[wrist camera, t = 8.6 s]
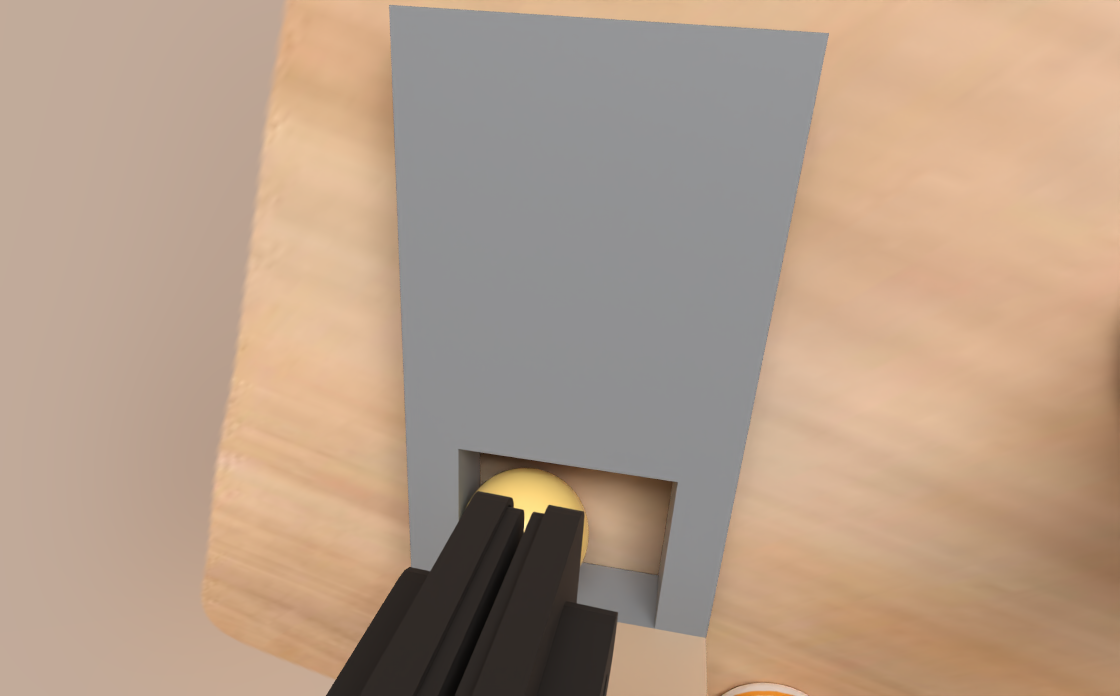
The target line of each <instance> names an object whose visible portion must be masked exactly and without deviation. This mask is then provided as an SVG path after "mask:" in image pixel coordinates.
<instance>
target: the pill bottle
mask: <svg viewBox="0 0 1120 696" xmlns="http://www.w3.org/2000/svg"><path fill="white" fill-rule="evenodd" d="M722 696H809V695H807V694H805V693H803V692H801V691H799V690H797V689H794V688H791V687H788V686H785V685H781V684H775V683H753V684H747V685H743V686H739V687H736V688H734V689H732V690H730V691H728V692H726V693H724V694H723V695H722Z"/></svg>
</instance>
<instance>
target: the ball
mask: <svg viewBox="0 0 1120 696" xmlns="http://www.w3.org/2000/svg"><path fill="white" fill-rule="evenodd" d="M477 491H481V492H486V493H491V494H497V495H502V496H507V497H511V498H513V502H514V508H518V509H523V510H524V517H525V518H524V531H525V529H526V526H527V524H528V521H529V519H530V517H531V515H532V513H533V512H539V513H545V511H546V508H547V506H548V505H553V506H559V507H564V508H569V509H574V510H579V511H584V529H583V540H582V551H581V561H580V566H581V564H582V562H583V560H584V557H585V554H586V551H587V546H588V537H589V528H588V521H587V517H586V513H585V510H584V507H583V505H582V503H581V501H580V499H579V498H578V496H577V494H576V493H575V492H574V491H573V490H572V488H571V487H570V486H569V485H568V484H566V483H565V482H564V481H563V480H562V479H560V478H559V477H557V476H555V475H553V474H551V473H549V472H546V471H543V470H540V469H535V468H517V469H511V470H507V471H504V472H502V473H499V474H497V475H495V476H494V477H492V478H490V479H489V480H487V481H486V482H485V483H484V484H483V485H482V486H480V487H479V489H478V490H477ZM477 491H476V492H477ZM476 492H475V493H476ZM475 493H474V494H475ZM472 497H473V496H472ZM471 499H472V498H471ZM471 499H470V500H471ZM469 502H470V501H469ZM469 502H468V504H469ZM467 506H468V505H467Z"/></svg>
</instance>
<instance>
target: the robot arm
mask: <svg viewBox="0 0 1120 696" xmlns="http://www.w3.org/2000/svg"><path fill="white" fill-rule="evenodd" d="M524 518H525V517H524V510H523V509H518V508H514V502H513V498H511V497H507V496H502V495H497V494H491V493H486V492H481V491H477V492H476V493H475V494H474V495H473V497H472V499H471V500H470V502H469V504H468V506H467V507H466V509H465V511H464V513H463V515H462V516H461V518H460V520H459V522H458V523H457V525H456V527H455V529H454V530H453V532H452V534H451V536H450V537H449V539H448V541H447V543H446V544H445V546H444V548H443V550H442V551H441V553H440V555H439V557H438V559H437V560H436V562H435V564H434V566H433V567H432V569H431V571H427V570H422V569H417V568H413V567H409V568H408V569H406V570H405V571H404V572H403V573H402V575H401V576H400V577H399V579H398V580H397V582H396V583H395V585H394V587H393V588H392V590H391V592H390V593H389V595H388V596H387V598H386V600H385V601H384V603H383V604H382V606H381V608H380V609H379V611H378V613H377V614H376V616H375V617H374V619H373V621H372V622H371V624H370V626H369V627H368V629H367V630H366V632H365V634H364V635H363V637H362V638H361V640H360V642H359V643H358V645H357V647H356V648H355V650H354V651H353V653H352V655H351V656H350V658H349V659H348V661H347V663H346V664H345V666H344V668H343V669H342V671H341V672H340V674H339V676H338V677H337V679H336V680H335V682H334V684H333V685H332V687H331V689H330V690H329V692H328V694H327V695H326V696H606V695H607V689H608V683H609V677H610V671H611V665H612V658H613V651H614V644H615V636H616V628H617V619H618V612H615V611H610V610H606V609H601V608H596V607H592V606H587V605H583V604H578V603H577V594H578V583H579V572H580V561H581V551H582V540H583V529H584V511H579V510H574V509H569V508H564V507H559V506H553V505H548V506H547V508H546V511H545V513H539V512H533V513H532V515H531V517H530V519H529V521H528V524H527V526H526V529H525V531H524Z"/></svg>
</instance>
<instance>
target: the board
mask: <svg viewBox="0 0 1120 696" xmlns="http://www.w3.org/2000/svg"><path fill="white" fill-rule="evenodd" d="M389 10H390V36H391V62H392V87H393V113H394V138H395V164H396V190H397V215H398V241H399V266H400V292H401V318H402V343H403V369H404V394H405V420H406V446H407V471H408V497H409V522H410V548H411V567H413V568H417V569H422V570H427V571H431V569H432V567H433V566H434V564H435V562H436V560H437V559H438V557H439V555H440V553H441V551H442V550H443V548H444V546H445V544H446V543H447V541H448V539H449V537H450V536H451V534H452V532H453V530H454V529H455V527H456V525H457V523H458V522H459V520H460V518H461V516H462V515H463V513H464V511H465V509H466V507H467V505H468V502H469V501H470V499H471V498H472V496H473V495H474V493H475V492H476V491H477V490H478V489H479V487H480V452H482V453H489V454H495V455H502V456H509V457H515V458H522V459H528V460H535V461H542V462H548V463H555V464H561V465H568V466H575V467H581V468H588V469H595V470H601V471H608V472H614V473H621V474H628V475H634V476H641V477H647V478H654V479H661V480H667V481H673V483H672V490H671V496H670V502H669V509H668V515H667V522H666V528H665V535H664V541H663V547H662V554H661V560H660V567H659V573H658V575H653V574H647V573H641V572H635V571H629V570H623V569H617V568H612V567H606V566H600V565H594V564H588V563H582V564H581V566H580V572H579V583H578V594H577V603H578V604H583V605H587V606H592V607H596V608H601V609H606V610H610V611H615V612H618V619H617V628H616V636H615V644H614V651H613V658H612V665H611V671H610V677H609V683H608V689H607V695H606V696H707V662H706V636H707V631H708V626H709V621H710V616H711V611H712V606H713V601H714V596H715V591H716V586H717V581H718V577H719V572H720V567H721V562H722V557H723V552H724V547H725V542H726V537H727V532H728V527H729V522H730V518H731V513H732V508H733V503H734V498H735V493H736V488H737V483H738V478H739V473H740V468H741V463H742V458H743V454H744V449H745V444H746V439H747V434H748V429H749V424H750V419H751V414H752V409H753V404H754V399H755V395H756V390H757V385H758V380H759V375H760V370H761V365H762V360H763V355H764V350H765V345H766V340H767V336H768V331H769V326H770V321H771V316H772V311H773V306H774V301H775V296H776V291H777V286H778V281H779V277H780V272H781V267H782V262H783V257H784V252H785V247H786V242H787V237H788V232H789V227H790V222H791V217H792V213H793V208H794V203H795V198H796V193H797V188H798V183H799V178H800V173H801V168H802V163H803V158H804V154H805V149H806V144H807V139H808V134H809V129H810V124H811V119H812V114H813V109H814V104H815V99H816V95H817V90H818V85H819V80H820V75H821V70H822V65H823V60H824V55H825V50H826V45H827V40H828V35H829V33H816V32H801V31H785V30H770V29H754V28H739V27H723V26H707V25H692V24H676V23H661V22H645V21H630V20H614V19H599V18H583V17H568V16H552V15H537V14H521V13H506V12H490V11H474V10H459V9H443V8H428V7H412V6H397V5H389Z"/></svg>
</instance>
